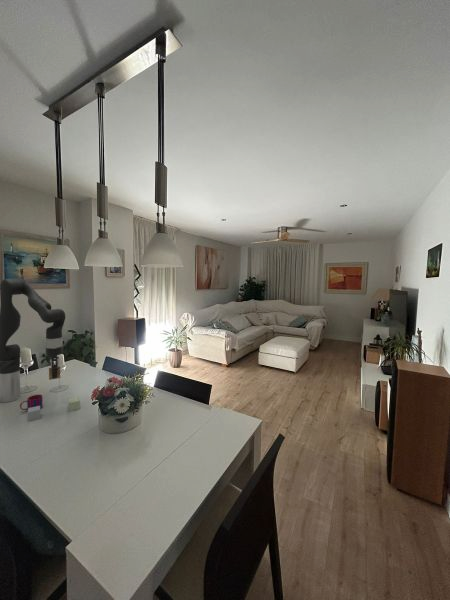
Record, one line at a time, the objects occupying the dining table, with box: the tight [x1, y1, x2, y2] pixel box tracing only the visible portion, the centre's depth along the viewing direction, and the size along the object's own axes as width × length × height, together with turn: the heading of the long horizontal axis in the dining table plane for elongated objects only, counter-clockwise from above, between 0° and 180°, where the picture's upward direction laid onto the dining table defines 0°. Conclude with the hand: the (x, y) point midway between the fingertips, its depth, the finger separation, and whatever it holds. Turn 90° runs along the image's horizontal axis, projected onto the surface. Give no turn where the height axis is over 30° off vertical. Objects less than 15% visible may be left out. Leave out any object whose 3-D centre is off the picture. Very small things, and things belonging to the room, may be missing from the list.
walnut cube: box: [48, 365, 61, 380], centre depth 130 cm, size 5×5×5 cm
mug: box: [19, 394, 43, 411], centre depth 134 cm, size 7×10×7 cm
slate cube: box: [27, 406, 41, 422], centre depth 126 cm, size 5×5×5 cm
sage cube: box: [68, 396, 81, 412], centre depth 137 cm, size 5×5×5 cm
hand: (54, 376), depth 131 cm, fingers closed on walnut cube, 5 cm apart
